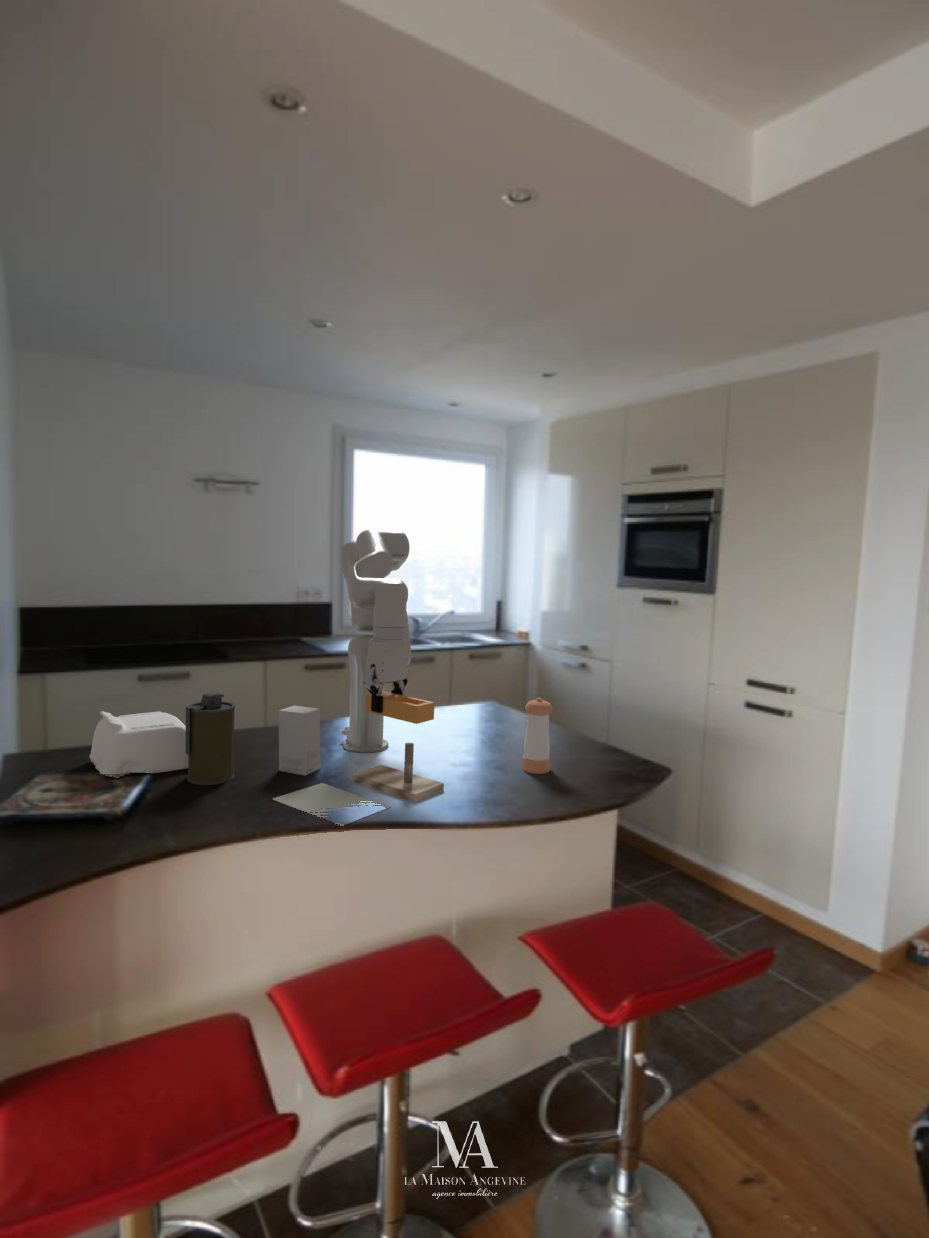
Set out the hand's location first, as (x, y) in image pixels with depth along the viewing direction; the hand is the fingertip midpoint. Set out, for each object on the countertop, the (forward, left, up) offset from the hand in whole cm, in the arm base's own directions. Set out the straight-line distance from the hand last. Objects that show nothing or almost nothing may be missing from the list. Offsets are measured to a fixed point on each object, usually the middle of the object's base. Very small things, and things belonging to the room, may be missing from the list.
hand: (386, 708), depth 158 cm
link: (+4, 0, -1) cm, 4 cm away
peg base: (+8, 0, -18) cm, 19 cm away
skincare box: (-21, -8, -18) cm, 29 cm away
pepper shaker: (+22, +34, -18) cm, 44 cm away
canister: (-31, -26, -18) cm, 45 cm away
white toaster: (-51, -28, -18) cm, 61 cm away
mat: (+2, -18, -18) cm, 26 cm away
